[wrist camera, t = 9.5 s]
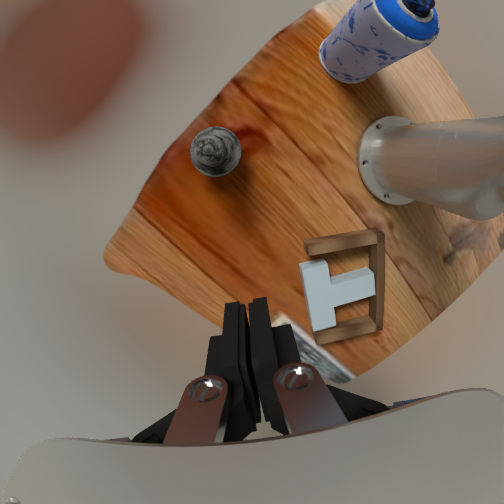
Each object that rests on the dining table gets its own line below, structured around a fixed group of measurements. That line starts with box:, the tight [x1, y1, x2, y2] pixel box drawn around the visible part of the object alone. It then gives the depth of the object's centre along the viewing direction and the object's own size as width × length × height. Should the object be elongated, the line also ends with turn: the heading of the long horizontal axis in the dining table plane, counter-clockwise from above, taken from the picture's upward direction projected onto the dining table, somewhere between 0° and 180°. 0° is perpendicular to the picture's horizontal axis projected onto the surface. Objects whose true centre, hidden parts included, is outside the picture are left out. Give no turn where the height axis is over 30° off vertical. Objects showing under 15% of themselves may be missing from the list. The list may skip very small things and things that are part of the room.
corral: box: [303, 228, 385, 345], centre depth 40 cm, size 11×15×3 cm
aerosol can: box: [318, 0, 439, 84], centre depth 22 cm, size 8×8×20 cm
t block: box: [299, 258, 375, 332], centre depth 40 cm, size 10×10×2 cm
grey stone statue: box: [190, 127, 241, 177], centre depth 29 cm, size 6×6×12 cm
